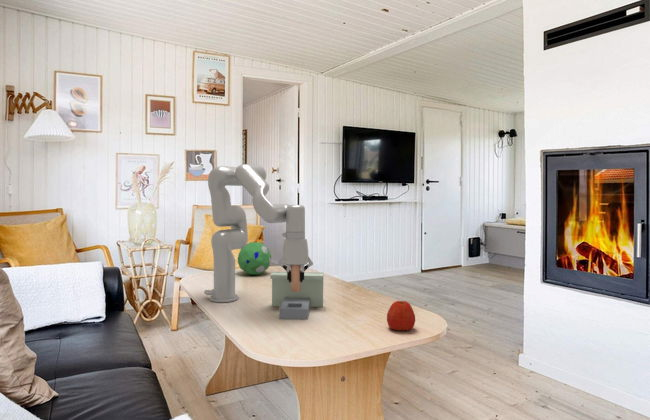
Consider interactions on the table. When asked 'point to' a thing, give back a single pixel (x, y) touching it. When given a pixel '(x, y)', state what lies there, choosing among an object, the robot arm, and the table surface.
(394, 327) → the apple
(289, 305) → the socket
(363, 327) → the table surface
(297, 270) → the peg
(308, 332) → the table surface
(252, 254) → the decorative sphere
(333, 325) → the table surface
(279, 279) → the pale green rectangular block
